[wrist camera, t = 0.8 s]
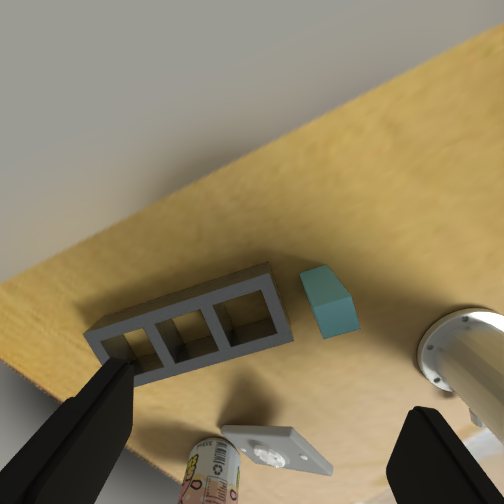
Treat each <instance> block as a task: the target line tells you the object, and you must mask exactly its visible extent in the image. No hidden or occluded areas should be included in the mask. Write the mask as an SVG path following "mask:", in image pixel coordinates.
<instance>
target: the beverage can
mask: <svg viewBox="0 0 504 504" xmlns="http://www.w3.org/2000/svg"><path fill="white" fill-rule="evenodd" d="M239 476H240V456H239V453H238V451H237V449H236V448H235V447H234V445H232V444H231V443H230V442H229V441H227V440H224V439H221V438H207V439H204V440H202V441H201V442H199V443H198V444H196V445H195V446H194V448H193V449H192V451H191V452H190V456H189V460H188V464H187V468H186V472H185V476H184V480H183V484H182V488H181V492H180V496H179V500H178V504H238V490H239Z"/></svg>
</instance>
